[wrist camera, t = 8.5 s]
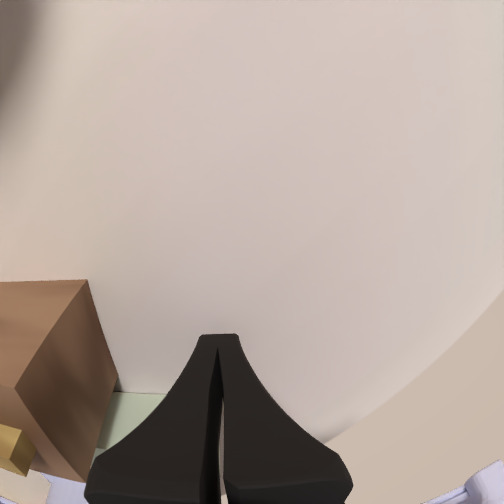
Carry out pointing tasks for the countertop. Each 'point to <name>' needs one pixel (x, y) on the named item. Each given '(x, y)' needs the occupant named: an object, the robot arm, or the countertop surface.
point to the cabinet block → (52, 378)
